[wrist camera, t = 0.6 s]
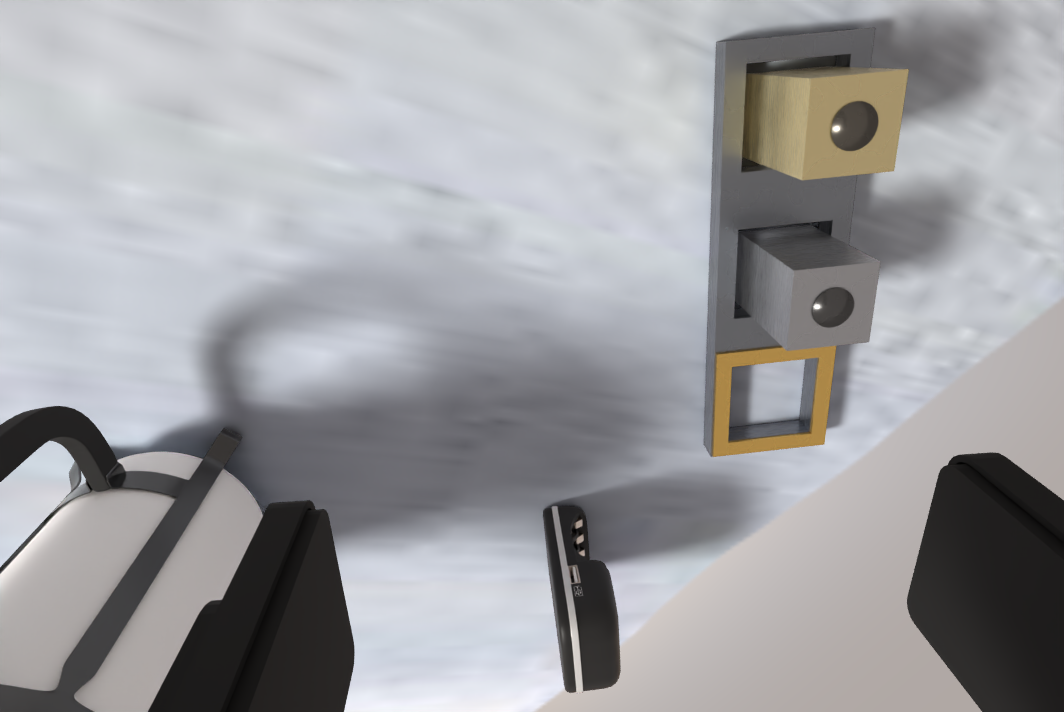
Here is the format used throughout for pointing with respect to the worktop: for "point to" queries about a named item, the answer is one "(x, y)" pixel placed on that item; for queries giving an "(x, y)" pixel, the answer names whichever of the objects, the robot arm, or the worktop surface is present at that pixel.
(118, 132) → the worktop surface
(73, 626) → the coffee press
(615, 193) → the worktop surface
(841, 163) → the wooden block with knob
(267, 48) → the worktop surface
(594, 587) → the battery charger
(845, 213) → the grey block holder rack
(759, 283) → the grey block with knob
